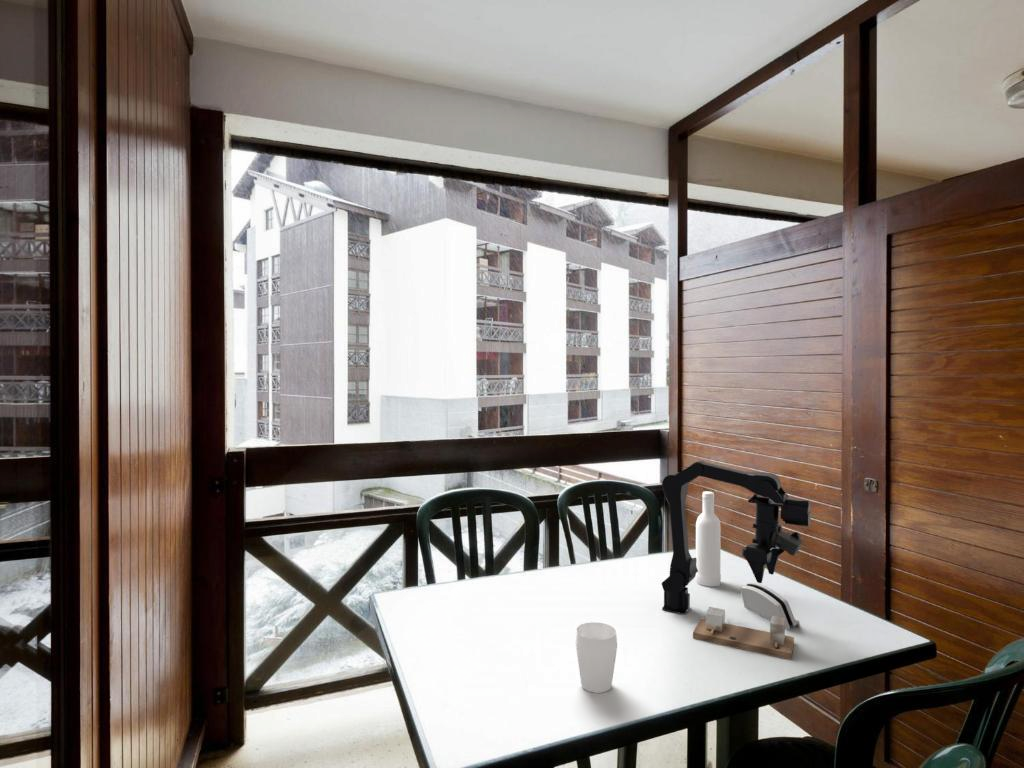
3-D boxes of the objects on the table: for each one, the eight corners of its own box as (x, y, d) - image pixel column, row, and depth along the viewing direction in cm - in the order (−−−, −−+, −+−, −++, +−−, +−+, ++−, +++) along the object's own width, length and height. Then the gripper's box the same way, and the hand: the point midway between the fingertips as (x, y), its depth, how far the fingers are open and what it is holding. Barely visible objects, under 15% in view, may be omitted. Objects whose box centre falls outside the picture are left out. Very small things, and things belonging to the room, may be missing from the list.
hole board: (692, 638, 148) (693, 613, 148) (700, 623, 156) (700, 600, 156) (791, 659, 136) (791, 632, 136) (793, 643, 145) (794, 617, 145)
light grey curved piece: (801, 627, 154) (792, 594, 153) (788, 635, 153) (778, 602, 152) (757, 604, 170) (748, 574, 169) (745, 611, 169) (736, 581, 167)
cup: (572, 675, 129) (572, 622, 129) (611, 673, 130) (611, 621, 130) (580, 697, 120) (580, 640, 120) (622, 695, 121) (622, 639, 121)
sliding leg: (703, 632, 147) (703, 616, 147) (709, 621, 154) (709, 606, 154) (719, 635, 145) (719, 620, 145) (724, 624, 152) (724, 609, 152)
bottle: (719, 579, 191) (719, 490, 191) (722, 587, 183) (722, 495, 183) (694, 577, 193) (694, 489, 193) (696, 585, 185) (696, 494, 185)
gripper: (788, 533, 140) (786, 596, 141) (809, 520, 154) (808, 577, 154) (742, 524, 148) (740, 584, 148) (766, 512, 162) (765, 567, 162)
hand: (765, 578), depth 153 cm, fingers open, 9 cm apart
